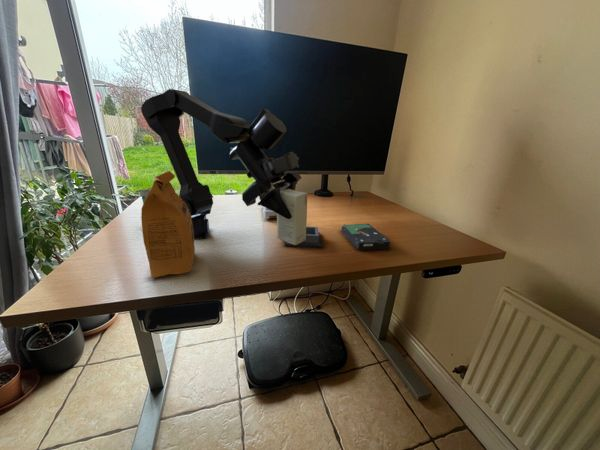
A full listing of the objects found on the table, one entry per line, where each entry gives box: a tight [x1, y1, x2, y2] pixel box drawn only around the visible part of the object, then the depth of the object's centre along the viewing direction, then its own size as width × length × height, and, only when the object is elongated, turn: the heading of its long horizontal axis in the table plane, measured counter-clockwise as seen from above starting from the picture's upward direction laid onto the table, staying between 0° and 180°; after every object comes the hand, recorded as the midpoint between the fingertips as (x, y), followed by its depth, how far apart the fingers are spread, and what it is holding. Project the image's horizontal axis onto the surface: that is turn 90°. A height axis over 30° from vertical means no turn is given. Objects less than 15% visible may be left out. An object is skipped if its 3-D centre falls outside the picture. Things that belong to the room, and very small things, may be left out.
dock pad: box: [284, 225, 323, 249], centre depth 75 cm, size 10×11×3 cm
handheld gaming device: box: [262, 206, 277, 220], centre depth 97 cm, size 9×15×4 cm, turn 12°
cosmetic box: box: [276, 189, 309, 245], centre depth 58 cm, size 6×4×12 cm
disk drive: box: [341, 223, 391, 251], centre depth 78 cm, size 10×3×15 cm
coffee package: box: [140, 170, 196, 279], centre depth 55 cm, size 10×12×22 cm
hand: (295, 215), depth 57 cm, fingers closed on cosmetic box, 5 cm apart
